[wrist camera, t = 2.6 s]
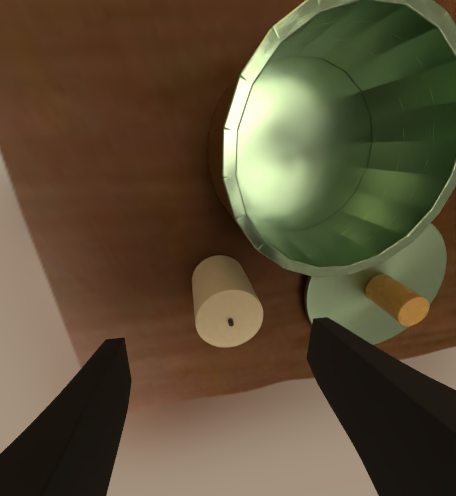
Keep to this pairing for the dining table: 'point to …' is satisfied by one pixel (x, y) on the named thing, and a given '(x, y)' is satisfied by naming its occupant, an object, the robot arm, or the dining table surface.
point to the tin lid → (382, 291)
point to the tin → (340, 133)
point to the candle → (224, 302)
